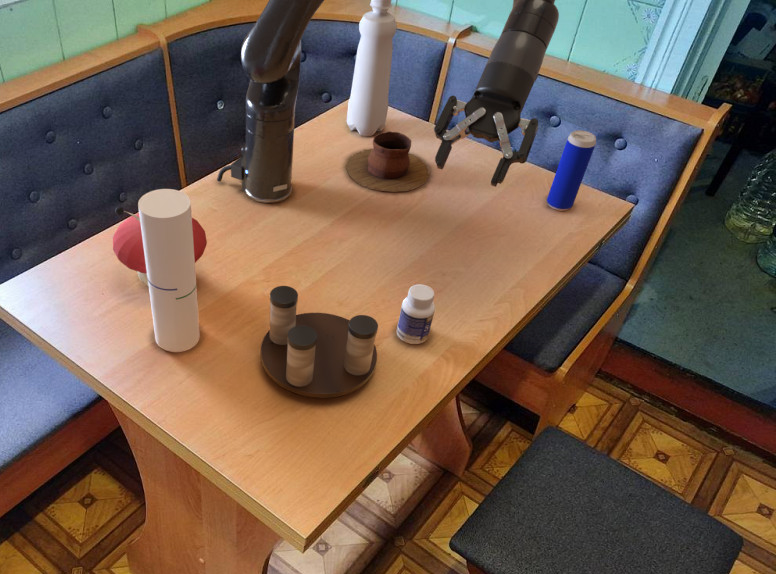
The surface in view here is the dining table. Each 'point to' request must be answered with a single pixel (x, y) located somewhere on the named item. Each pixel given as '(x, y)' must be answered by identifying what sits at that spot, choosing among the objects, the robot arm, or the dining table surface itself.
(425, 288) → the pill bottle
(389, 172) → the ceramic pot
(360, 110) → the bottle
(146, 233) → the cylindrical container
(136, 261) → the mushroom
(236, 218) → the dining table surface
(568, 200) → the beverage can
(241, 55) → the robot arm
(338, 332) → the spice rack
